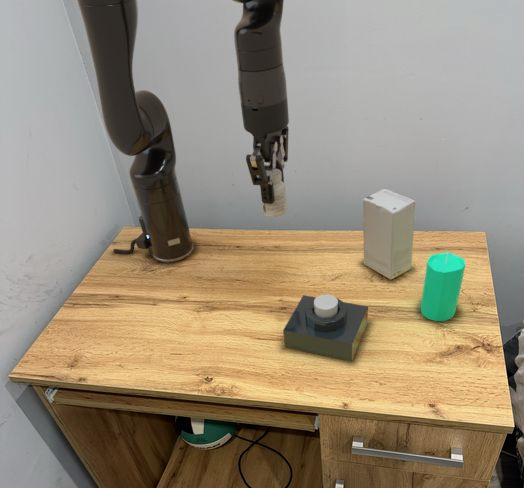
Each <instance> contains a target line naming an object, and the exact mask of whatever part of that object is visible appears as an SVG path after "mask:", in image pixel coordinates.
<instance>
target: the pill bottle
mask: <svg viewBox="0 0 524 488" xmlns="http://www.w3.org/2000/svg"><path fill="white" fill-rule="evenodd" d="M266 173H267V177H268V171H267V170H266ZM281 180H282V175H281V171H280V170H279V169H275V170H273V182H272V183H273V188H274V198H275V201H274V202H273V204H266V203H263V202H262V209H263V214H264V215H265V216H266V217H268V218H279V217H283V216H284V215H285V214H286V213H287V212H288V205H287V193H286V185H285V182H284V183H283V182H282V181H281Z"/></svg>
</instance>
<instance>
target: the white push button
mask: <svg viewBox="0 0 524 488" xmlns="http://www.w3.org/2000/svg"><path fill="white" fill-rule="evenodd" d="M316 297H317V298H315V300H314V313H315V315H316V316H318V317H321V318H330V317H334V316H335V315H336V314H337V313H338V300H337V298H338V297H336V296H334V295H333V294H327V293H326V294H320V295H318V296H316Z"/></svg>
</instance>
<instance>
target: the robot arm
mask: <svg viewBox="0 0 524 488" xmlns="http://www.w3.org/2000/svg"><path fill="white" fill-rule="evenodd" d="M76 1H77V4H78V7H79V11H80V14H81V15H80V16H81V19H82V22H83V25H84V29H85V33H86V38H87V42H88V46H89V51H90V54H91V58H92V59H91V60H92V63H93V68H94V73H95V77H96V83H97V84H96V85H97V89H98V90H97V91H98V94H99V101H100V107H101V113H102V119H103V123H104V127H105V130H106V133H107V136H108V137H109V139H110V141H111V143H112V145H113V146H114V147H115V148H116V149H117V150H118V151H119V152H120V153H121V154H123V155H125V156H127V157H134V158H133V160H132V163H131V165H130V167H129V170H128V174H129V180H130V183H131V186H132V189H133V193H134V196H135V198H136V199H135V200H136V202H137V206H138V209H139V211H140V216H139V217H138V222H139V225H140V228H141V231H142V232H141V234H139V235H138V236H137V237H136V238H134V239H132V240H131V242H130V248H129V249H127V250H124V249H120V248H119V249H118V248H114V249H113V253H114V254H115V253H116V254H122V255H129V254H131V253H133V252H134V251H135V244H136V247H137V249H140V250H147V252H148V254H149V257H153V258H154V260H156V262H157V261H158V262H161V263H176V262H180V261H182V260H184V259H186V258H188V257H189V256H190V255H191V254H192V253H193V251H194V248H195V247H194V243H193V241H192V236H191V232H190V227H189V223H188V219H187V215H186V210H185V206H184V201H183V197H182V193H181V188H180V185H179V181H178V177H177V172H176V164H177V153H176V147H175V141H174V137H173V130H172V125H171V121H170V117H169V114H168V112H167V109H166V107H165V105H164V103H163V102H162V100H161V99H160V98H159V96H157V95H156V94H155V93H154V92H152V91H149V90H145V89H140V90H136V88H135V81H134V72H133V65H134V64H133V63H134V55H135V48H136V47H135V46H136V41H137V34H138V25H139V24H138V23H139V7H138V0H76ZM232 1H233V2H235V3H237V4H242V14H241V17H240V20H239V21H238V22H237V24H236V25H235V28H234V30H233V41H234V49H235V57H236V65H237V85H238V86H237V87H238V94H239V101H240V108H241V109H240V110H241V115H242V124H243V129H244V130H245V131H246V132H247V133H249V134H251V135H252V137H253V141H252V151H253V152H252V153H251V154H246V155H245V161H246V164H247V165H246V166H247V168H248V172H249V175H250V179H251V182H252V185H253V186H259V188H260V196H261V202H262V204H263V203H266V204H273V202H274V201H275V198H274V188H273V183H272V182H273V170H275V169H279V170H280V171H281V175H282V180H281V181H282V182H283V183H284V184H285V177H284V170H285V167H286V165H285V163H287V162H288V159H289V129H290V128H289V123H290V118H289V103H288V91H287V89H288V88H287V77H286V72H285V67H284V58H283V56H284V55H283V43H282V42H283V41H282V33H281V29H282V28H281V27H282V19H283V12H284V1H285V0H232ZM265 163H266V164H265ZM267 163H268V164H267ZM266 170H267V171H268V177H267V173H266Z"/></svg>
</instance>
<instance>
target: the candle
mask: <svg viewBox="0 0 524 488" xmlns="http://www.w3.org/2000/svg"><path fill="white" fill-rule="evenodd" d="M465 268H466V261H465V259H464V258H463V257H461V256H458V255H456V254H454V253H451V252H449V251H446V252H440V253H433V254H431V255H429V257H428V259H427V260H426V268H425V275H424V282H423V289H422V295H421V300H420V312H421V315H423V317H425V318H426V319H429V320H431V321H434V322H445V321H448V320H450V319H452V318H453V317H454V316H455V314H456V311H457V305H458V302H459V297H460V292H461V288H462V282H463V279H464V274H465Z"/></svg>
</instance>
